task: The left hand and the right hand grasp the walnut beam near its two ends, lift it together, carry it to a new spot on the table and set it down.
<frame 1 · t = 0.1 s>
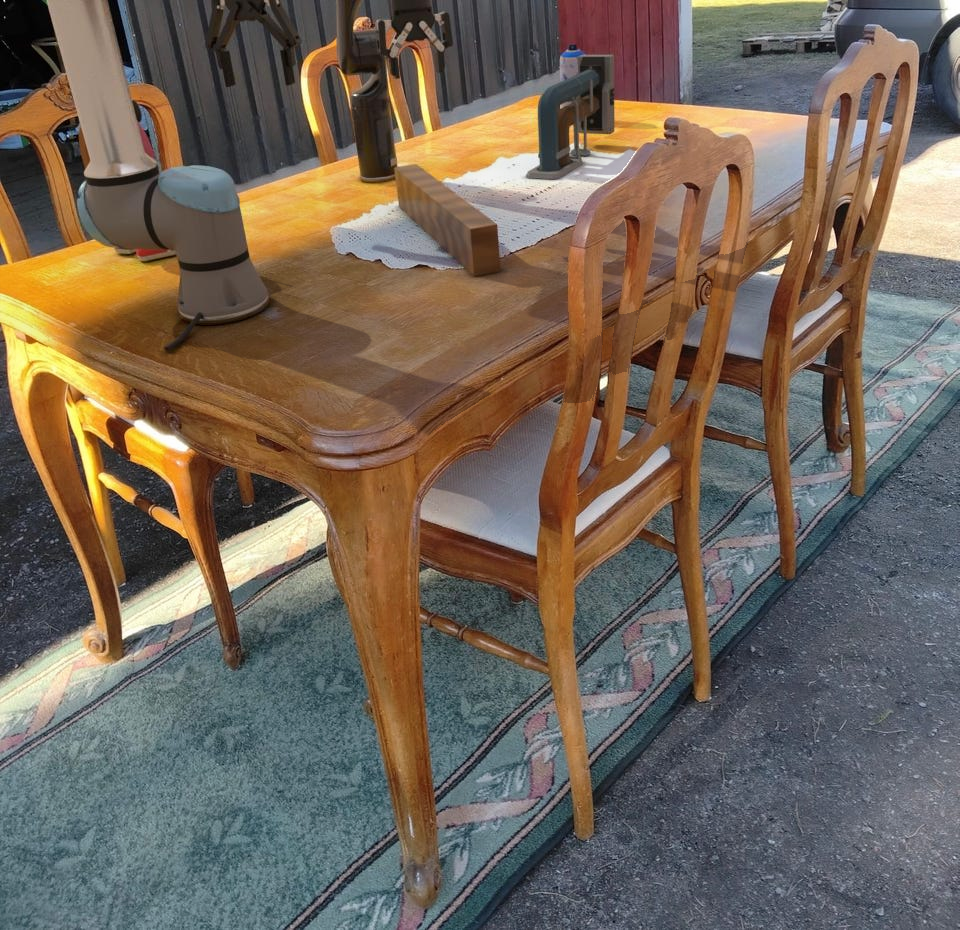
left hand: (260, 85, 196), 28 cm above the table, tool pointing down, fingers open, 13 cm apart
right hand: (418, 75, 185), 29 cm above the table, tool pointing down, fingers open, 8 cm apart
clamp: (571, 160, 237), on the table
aerosol can: (574, 120, 278), on the table
beam: (444, 235, 193), on the table
toy: (149, 252, 198), on the table
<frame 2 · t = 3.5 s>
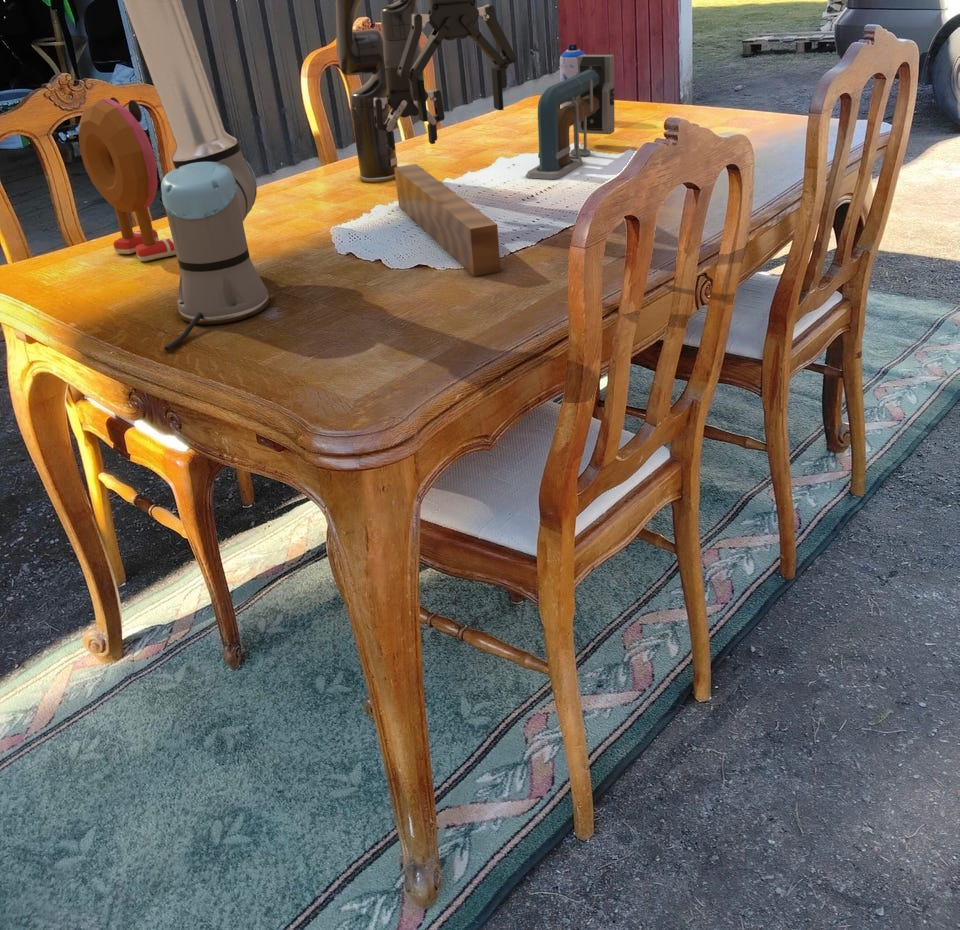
left hand: (461, 114, 165), 26 cm above the table, tool pointing down, fingers open, 13 cm apart
right hand: (412, 146, 200), 14 cm above the table, tool pointing down, fingers open, 8 cm apart
nothing on the table moved.
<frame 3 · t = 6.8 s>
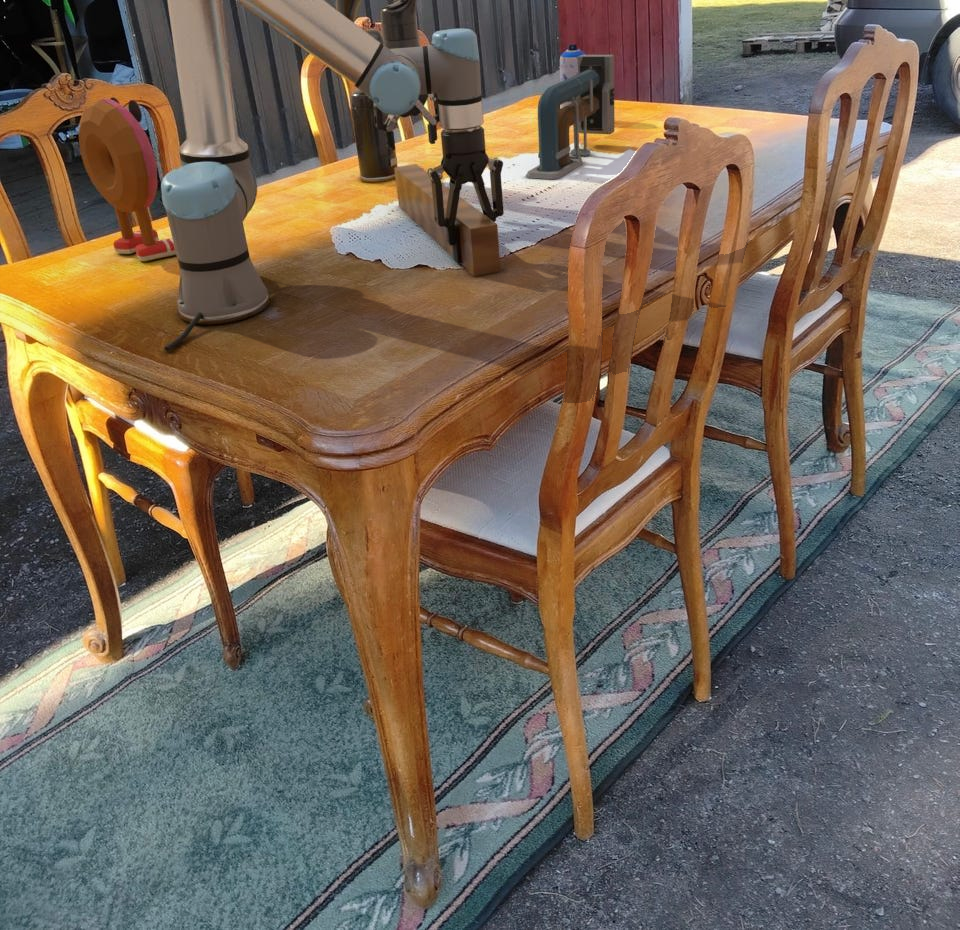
left hand: (472, 258, 178), 1 cm above the table, tool pointing down, fingers closed on beam, 5 cm apart
right hand: (412, 146, 200), 14 cm above the table, tool pointing down, fingers open, 8 cm apart
beam: (444, 235, 193), on the table, touching left hand
everything else where it was.
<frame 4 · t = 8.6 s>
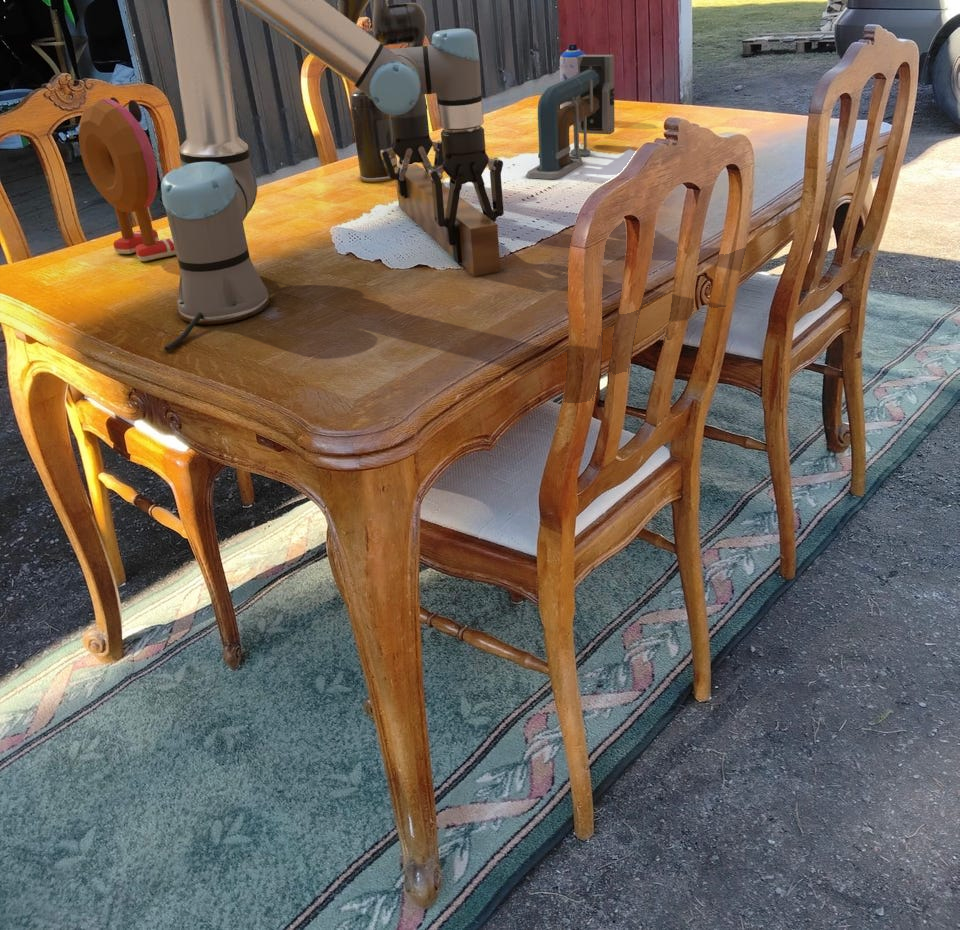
left hand: (472, 258, 178), 1 cm above the table, tool pointing down, fingers closed on beam, 5 cm apart
right hand: (417, 195, 205), 4 cm above the table, tool pointing down, fingers closed on beam, 5 cm apart
beam: (444, 235, 193), on the table, touching left hand, right hand
everything else where it was.
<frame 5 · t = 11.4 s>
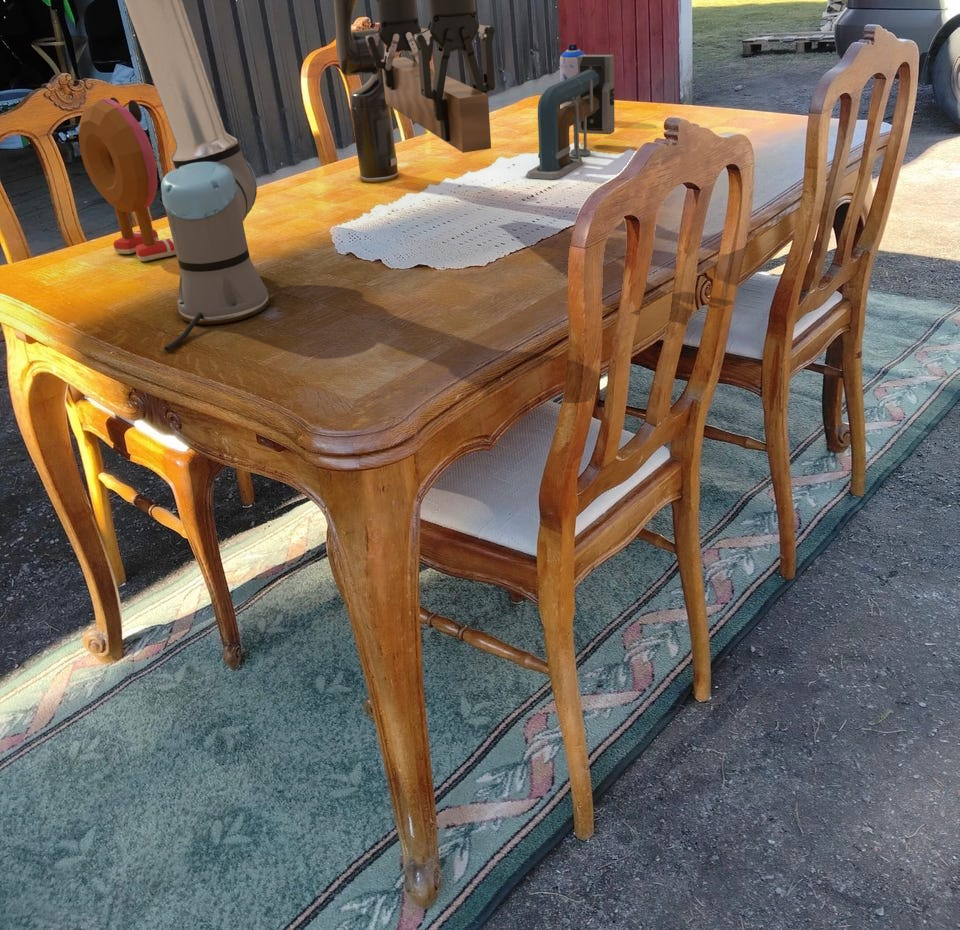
left hand: (461, 137, 167), 22 cm above the table, tool pointing down, fingers closed on beam, 5 cm apart
right hand: (405, 87, 194), 26 cm above the table, tool pointing down, fingers closed on beam, 5 cm apart
beam: (432, 123, 182), point 22 cm above the table, touching left hand, right hand
everything else where it was.
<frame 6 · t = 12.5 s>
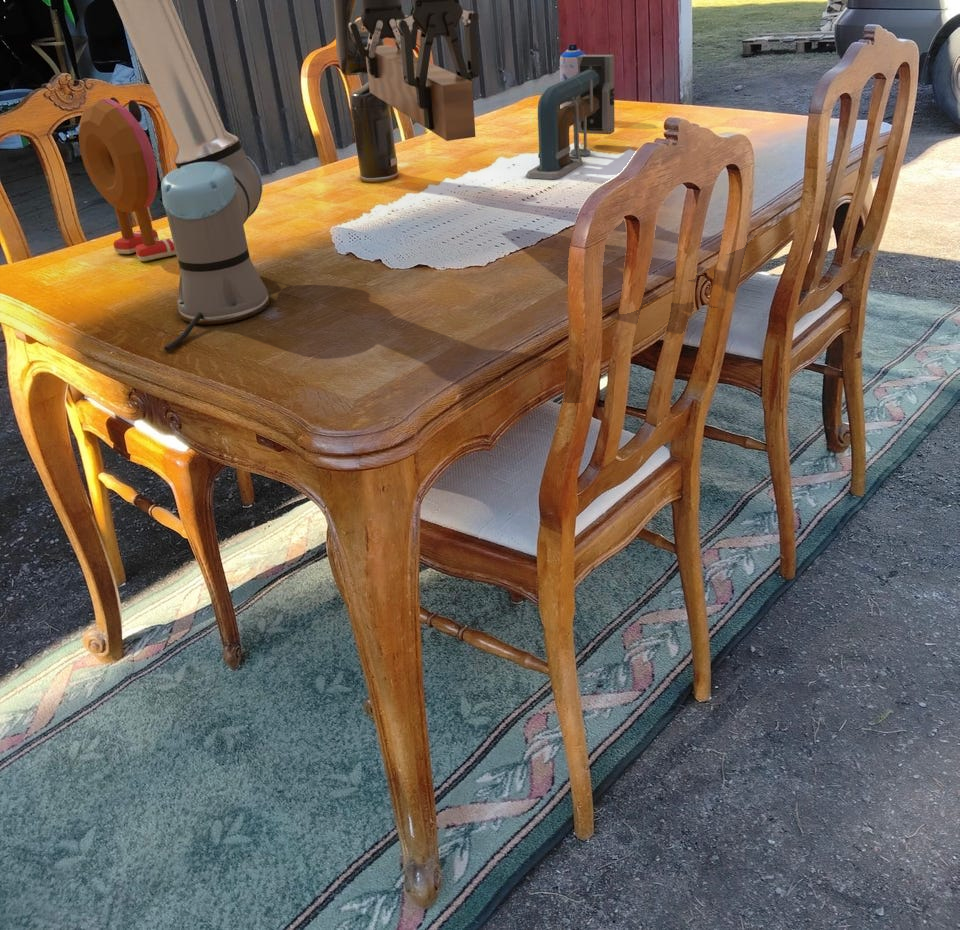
left hand: (445, 125, 163), 25 cm above the table, tool pointing down, fingers closed on beam, 5 cm apart
right hand: (389, 75, 191), 29 cm above the table, tool pointing down, fingers closed on beam, 5 cm apart
beam: (416, 112, 178), point 24 cm above the table, touching left hand, right hand
everything else where it was.
when the left hand's fingers open (2 cm above the table, at t = 16.5 s): beam drops 1 cm, on the table.
when the right hand's fingers open (5 cm above the table, at t = 16.7 s): beam stays where it is, on the table.
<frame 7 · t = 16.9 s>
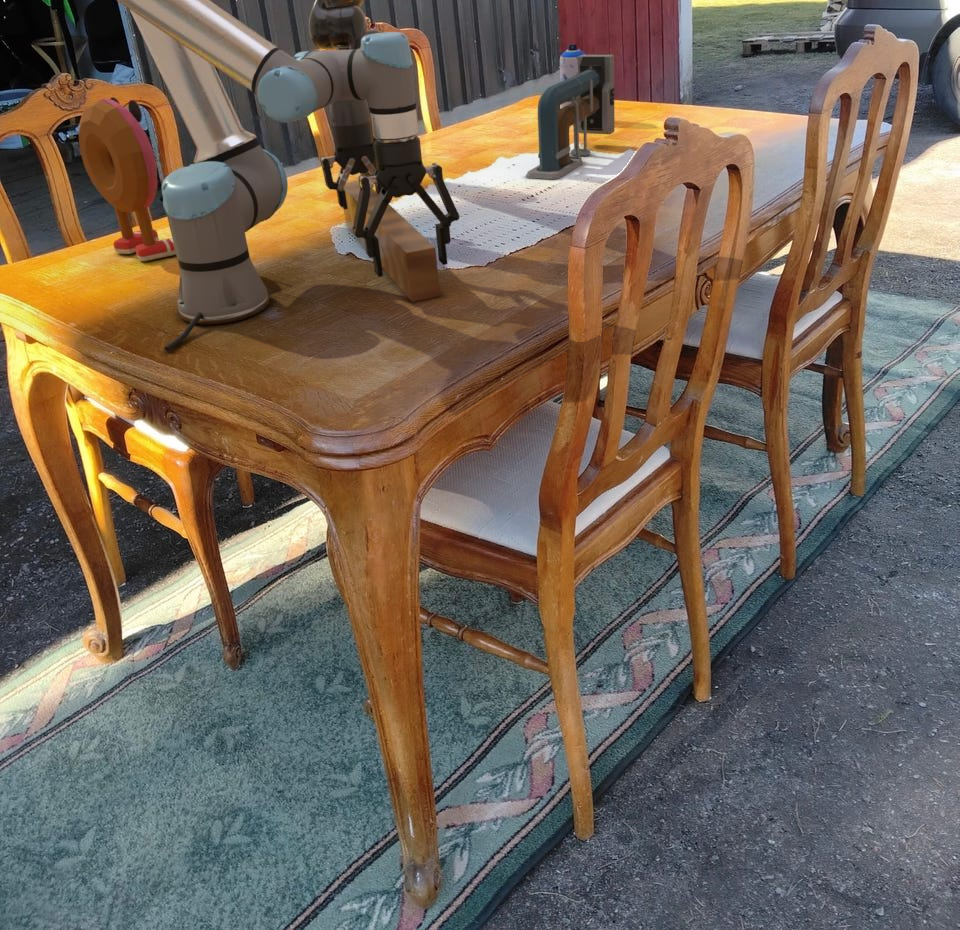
left hand: (411, 268, 167), 3 cm above the table, tool pointing down, fingers open, 11 cm apart
right hand: (362, 205, 195), 6 cm above the table, tool pointing down, fingers open, 6 cm apart
beam: (387, 256, 184), on the table
everything else where it was.
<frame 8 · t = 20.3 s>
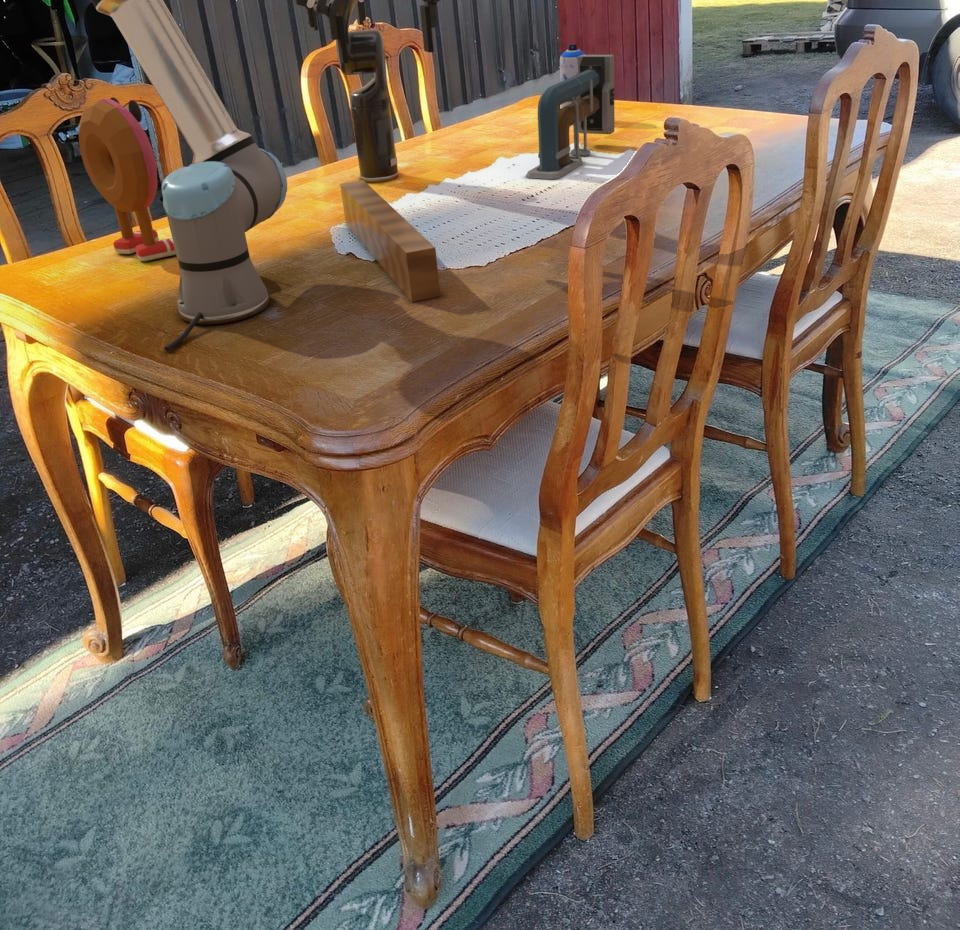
left hand: (387, 57, 150), 37 cm above the table, tool pointing down, fingers open, 13 cm apart
right hand: (338, 27, 178), 39 cm above the table, tool pointing down, fingers open, 8 cm apart
nothing on the table moved.
at the end: beam inside the target area (0.9 cm from its centre), on the table; beam tilted 0°; beam never tilted more than 2° during the clip; both hands held the beam at the same time; the left hand is holding nothing; the right hand is holding nothing; beam at rest at the end (0.0 cm/s) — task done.
